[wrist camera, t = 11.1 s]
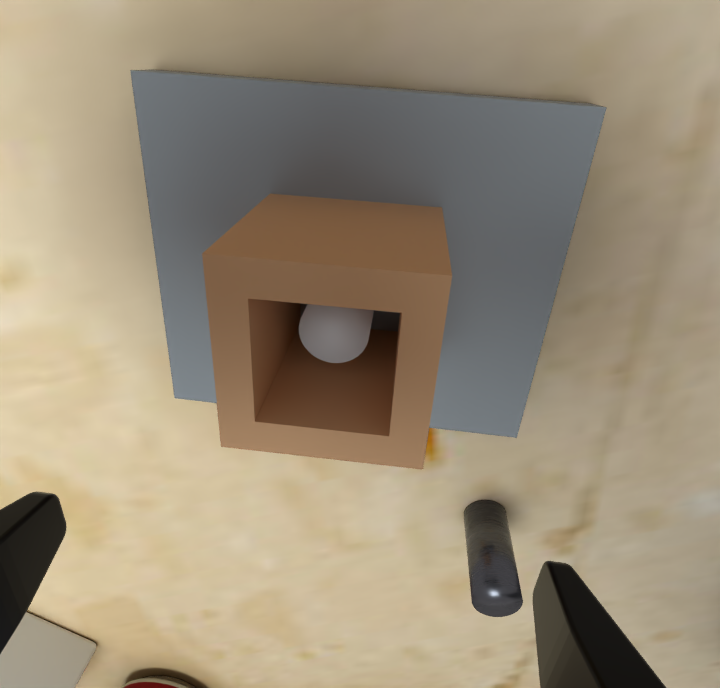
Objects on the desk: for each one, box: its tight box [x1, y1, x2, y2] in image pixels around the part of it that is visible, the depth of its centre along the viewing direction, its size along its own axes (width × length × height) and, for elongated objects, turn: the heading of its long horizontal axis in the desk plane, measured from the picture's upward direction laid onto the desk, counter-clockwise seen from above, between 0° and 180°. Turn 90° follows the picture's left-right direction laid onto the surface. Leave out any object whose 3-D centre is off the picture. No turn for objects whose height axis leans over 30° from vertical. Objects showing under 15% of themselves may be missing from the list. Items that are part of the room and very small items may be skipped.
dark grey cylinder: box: [464, 500, 523, 617], centre depth 23 cm, size 2×2×4 cm
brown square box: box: [202, 194, 452, 469], centre depth 15 cm, size 6×6×6 cm
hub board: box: [130, 70, 606, 438], centre depth 17 cm, size 14×12×6 cm
